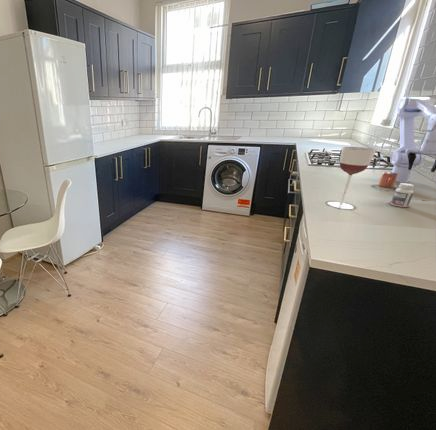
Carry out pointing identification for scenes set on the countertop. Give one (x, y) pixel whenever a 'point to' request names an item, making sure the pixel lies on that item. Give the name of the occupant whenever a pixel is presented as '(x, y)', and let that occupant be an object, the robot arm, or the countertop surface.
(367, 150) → the wineglass
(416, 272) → the countertop surface
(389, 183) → the mug
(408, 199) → the pill bottle
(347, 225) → the countertop surface
